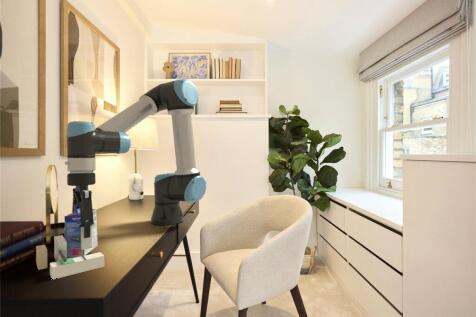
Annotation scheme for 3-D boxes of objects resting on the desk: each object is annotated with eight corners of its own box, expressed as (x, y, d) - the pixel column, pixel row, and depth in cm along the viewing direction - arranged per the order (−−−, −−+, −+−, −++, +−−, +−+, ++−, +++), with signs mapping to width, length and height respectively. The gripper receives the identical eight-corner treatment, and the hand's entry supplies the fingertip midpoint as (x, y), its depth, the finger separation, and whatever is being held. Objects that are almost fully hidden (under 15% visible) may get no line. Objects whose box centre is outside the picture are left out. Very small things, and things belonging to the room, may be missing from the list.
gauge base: (90, 252, 86) (90, 236, 86) (104, 266, 74) (104, 248, 74) (36, 263, 77) (36, 246, 77) (41, 282, 65) (41, 261, 65)
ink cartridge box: (80, 246, 86) (79, 202, 86) (98, 245, 87) (97, 201, 87) (64, 257, 76) (63, 207, 77) (84, 256, 77) (83, 206, 77)
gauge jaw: (62, 256, 82) (62, 235, 82) (72, 273, 69) (72, 248, 69) (54, 257, 80) (54, 236, 80) (63, 275, 68) (63, 250, 68)
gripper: (61, 171, 88) (61, 238, 88) (74, 173, 71) (75, 257, 71) (86, 171, 93) (87, 234, 93) (105, 172, 76) (106, 250, 75)
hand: (82, 244), depth 82 cm, fingers closed on ink cartridge box, 11 cm apart
